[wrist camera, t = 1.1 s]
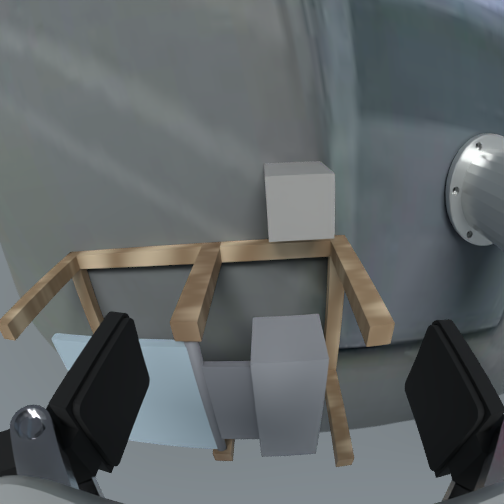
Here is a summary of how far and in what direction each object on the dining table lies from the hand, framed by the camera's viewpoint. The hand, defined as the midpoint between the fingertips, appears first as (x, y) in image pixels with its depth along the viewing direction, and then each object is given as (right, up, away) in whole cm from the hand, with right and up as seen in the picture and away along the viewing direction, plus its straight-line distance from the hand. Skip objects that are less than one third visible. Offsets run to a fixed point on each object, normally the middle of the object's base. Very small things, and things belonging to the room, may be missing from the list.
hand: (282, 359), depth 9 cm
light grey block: (+3, +9, +19) cm, 21 cm away
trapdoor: (-6, -8, +18) cm, 20 cm away
